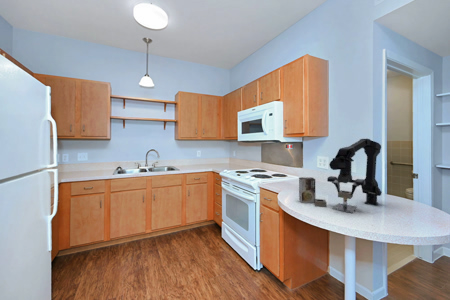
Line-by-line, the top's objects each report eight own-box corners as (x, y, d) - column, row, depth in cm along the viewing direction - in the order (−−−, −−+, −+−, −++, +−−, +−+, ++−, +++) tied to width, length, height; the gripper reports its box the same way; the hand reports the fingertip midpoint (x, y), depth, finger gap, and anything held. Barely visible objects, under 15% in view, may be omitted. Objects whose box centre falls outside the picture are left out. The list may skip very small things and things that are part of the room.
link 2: (340, 195, 120) (340, 190, 120) (352, 196, 116) (352, 191, 116) (337, 197, 116) (337, 192, 116) (350, 199, 111) (350, 193, 111)
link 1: (314, 203, 126) (314, 198, 126) (324, 204, 124) (324, 199, 124) (315, 206, 120) (315, 201, 120) (326, 207, 118) (326, 202, 118)
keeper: (338, 204, 125) (339, 194, 124) (357, 207, 118) (357, 197, 117) (332, 209, 114) (332, 199, 114) (352, 213, 108) (352, 202, 107)
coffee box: (312, 200, 133) (312, 177, 132) (315, 203, 126) (315, 178, 126) (298, 200, 134) (298, 177, 133) (301, 202, 127) (301, 178, 127)
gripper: (324, 169, 116) (324, 194, 117) (362, 171, 103) (361, 200, 104) (330, 167, 124) (330, 191, 125) (365, 169, 111) (365, 196, 112)
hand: (345, 194), depth 116 cm, fingers closed on link 2, 6 cm apart
